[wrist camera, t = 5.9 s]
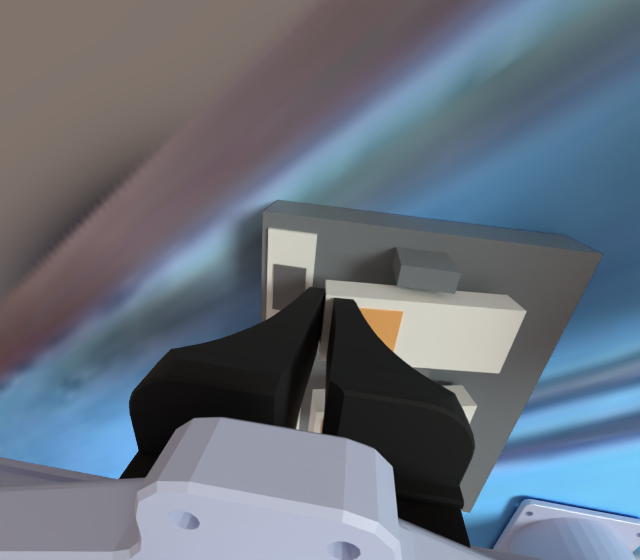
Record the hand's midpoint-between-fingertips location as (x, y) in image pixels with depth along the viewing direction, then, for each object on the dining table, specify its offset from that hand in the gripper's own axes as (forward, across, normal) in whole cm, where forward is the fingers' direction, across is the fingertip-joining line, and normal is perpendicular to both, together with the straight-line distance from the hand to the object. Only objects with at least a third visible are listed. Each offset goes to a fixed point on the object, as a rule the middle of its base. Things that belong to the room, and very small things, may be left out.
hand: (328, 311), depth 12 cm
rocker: (0, -3, 0) cm, 3 cm away
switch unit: (+4, -3, +5) cm, 7 cm away
